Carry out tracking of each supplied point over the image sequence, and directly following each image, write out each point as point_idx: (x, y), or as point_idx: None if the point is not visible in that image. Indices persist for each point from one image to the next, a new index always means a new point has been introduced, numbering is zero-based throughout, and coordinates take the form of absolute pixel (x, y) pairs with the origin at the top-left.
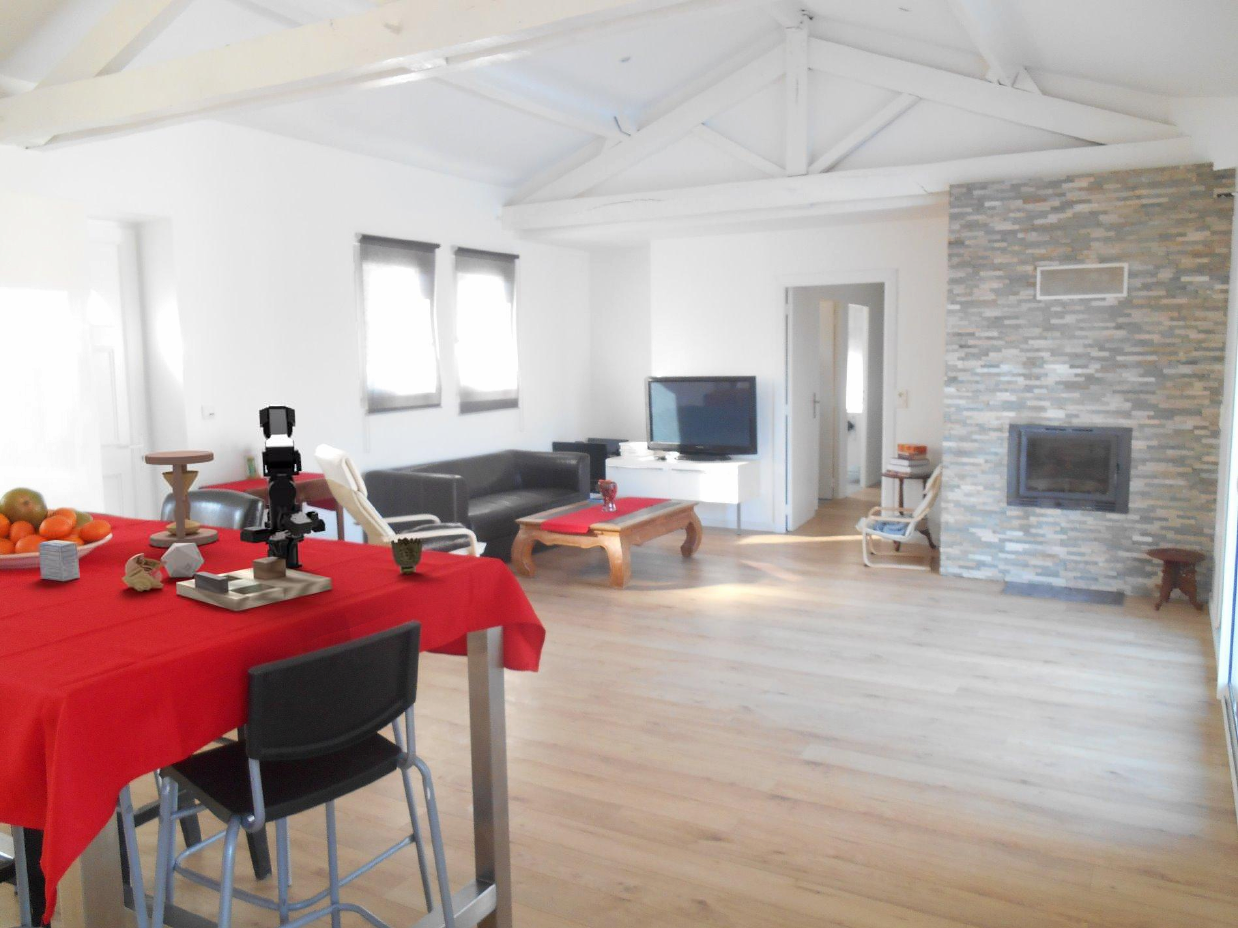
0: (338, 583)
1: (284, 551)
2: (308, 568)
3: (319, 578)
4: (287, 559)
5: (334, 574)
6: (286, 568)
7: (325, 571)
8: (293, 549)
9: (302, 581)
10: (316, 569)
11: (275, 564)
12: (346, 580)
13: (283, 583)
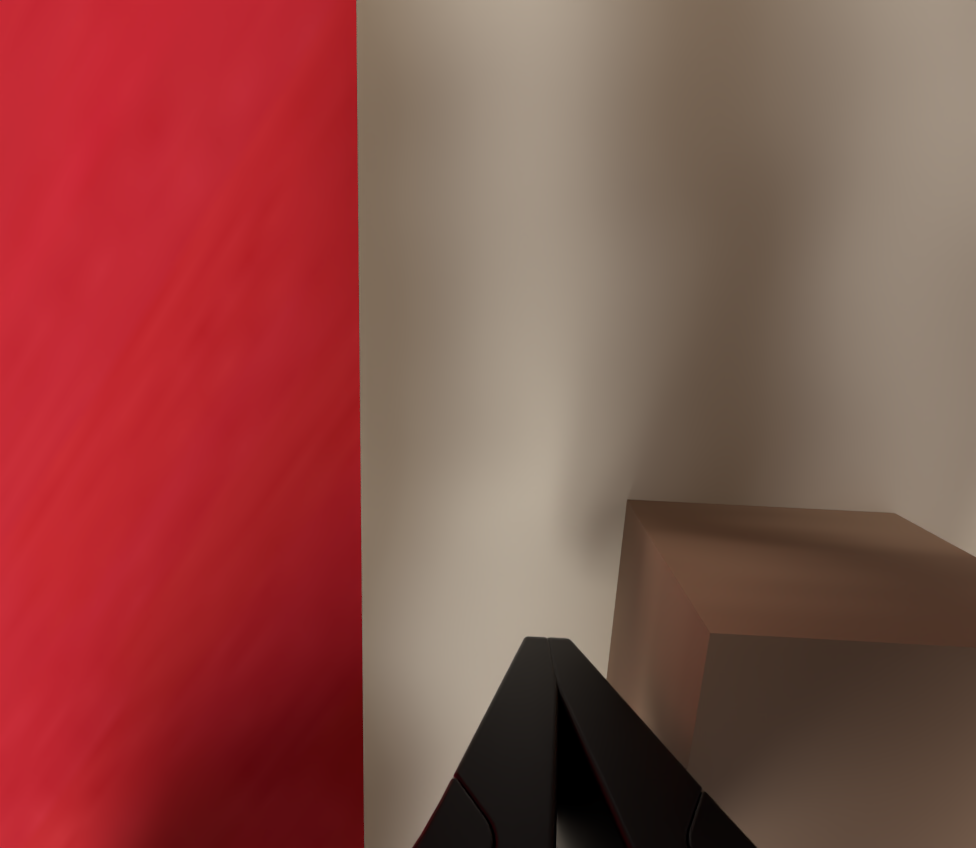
0: (183, 158)
1: (695, 845)
2: (72, 844)
3: (458, 30)
4: (557, 705)
5: (17, 515)
6: (372, 792)
7: (21, 666)
8: (436, 836)
9: (711, 81)
10: (42, 774)
11: (890, 604)
12: (54, 201)
13: (918, 208)
